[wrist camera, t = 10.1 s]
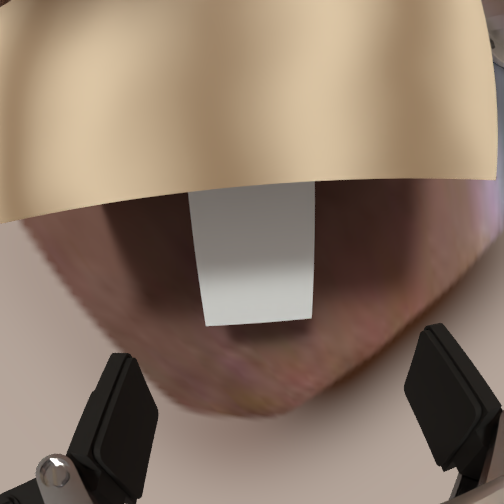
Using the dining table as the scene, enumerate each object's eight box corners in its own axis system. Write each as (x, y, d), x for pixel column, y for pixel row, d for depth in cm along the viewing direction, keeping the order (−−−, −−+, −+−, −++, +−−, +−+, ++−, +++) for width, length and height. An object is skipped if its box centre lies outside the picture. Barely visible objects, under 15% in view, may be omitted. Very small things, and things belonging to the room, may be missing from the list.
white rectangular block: (289, 41, 16) (306, 16, 11) (296, 278, 22) (311, 318, 18) (191, 46, 16) (176, 22, 11) (211, 284, 22) (205, 326, 17)
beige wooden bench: (385, 22, 15) (474, -23, 6) (395, 151, 19) (495, 180, 10) (80, 47, 15) (-13, 15, 6) (92, 178, 18) (0, 223, 9)
